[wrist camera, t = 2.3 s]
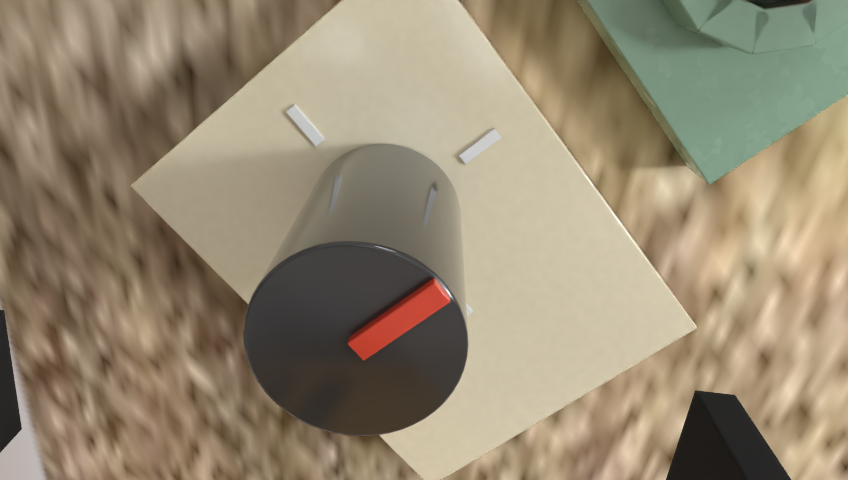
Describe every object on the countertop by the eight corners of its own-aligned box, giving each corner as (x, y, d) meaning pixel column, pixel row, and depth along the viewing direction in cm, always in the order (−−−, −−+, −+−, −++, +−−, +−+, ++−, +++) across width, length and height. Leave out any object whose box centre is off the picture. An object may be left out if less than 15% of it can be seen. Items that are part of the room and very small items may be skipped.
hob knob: (375, 309, 23) (342, 480, 16) (278, 204, 22) (190, 335, 14) (490, 229, 22) (515, 372, 14) (395, 111, 21) (366, 201, 13)
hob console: (164, 160, 25) (127, 188, 22) (416, -60, 22) (412, -63, 19) (431, 437, 29) (430, 490, 26) (670, 289, 26) (699, 330, 23)
